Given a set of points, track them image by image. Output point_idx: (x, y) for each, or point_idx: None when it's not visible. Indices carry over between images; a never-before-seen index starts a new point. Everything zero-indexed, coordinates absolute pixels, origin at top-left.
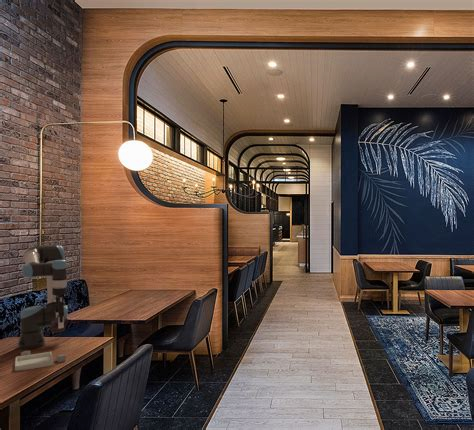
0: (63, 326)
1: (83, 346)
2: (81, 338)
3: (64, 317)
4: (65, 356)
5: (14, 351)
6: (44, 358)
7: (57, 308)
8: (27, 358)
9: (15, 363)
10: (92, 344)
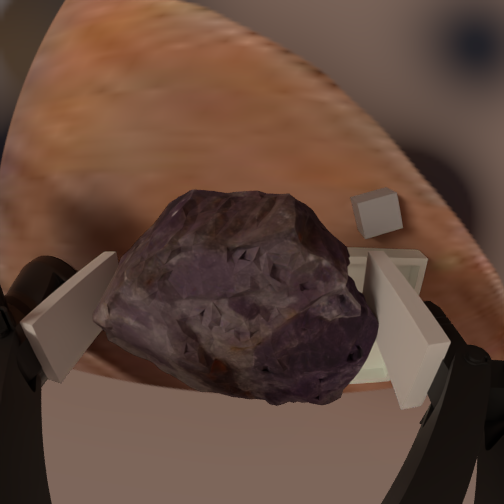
0: (389, 260)
1: (150, 73)
2: (24, 103)
3: (232, 275)
4: (395, 193)
5: (118, 358)
6: None
7: (34, 423)
8: None
9: (355, 383)
10: (138, 32)
